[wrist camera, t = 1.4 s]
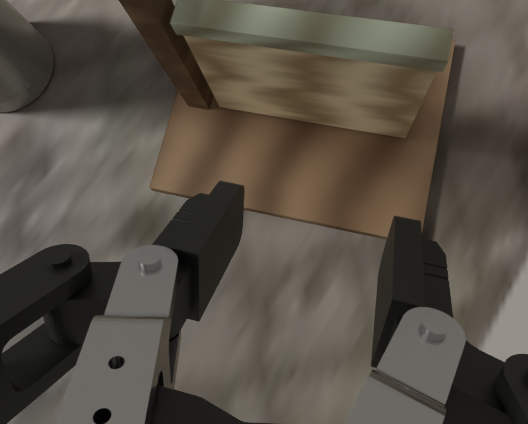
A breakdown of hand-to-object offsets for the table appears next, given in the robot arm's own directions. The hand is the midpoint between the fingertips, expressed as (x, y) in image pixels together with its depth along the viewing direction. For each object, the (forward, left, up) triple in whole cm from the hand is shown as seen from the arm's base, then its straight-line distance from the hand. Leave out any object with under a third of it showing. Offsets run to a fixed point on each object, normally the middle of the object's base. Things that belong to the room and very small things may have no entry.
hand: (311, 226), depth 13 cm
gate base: (-13, +5, -24) cm, 28 cm away
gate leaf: (-13, +6, -23) cm, 27 cm away
